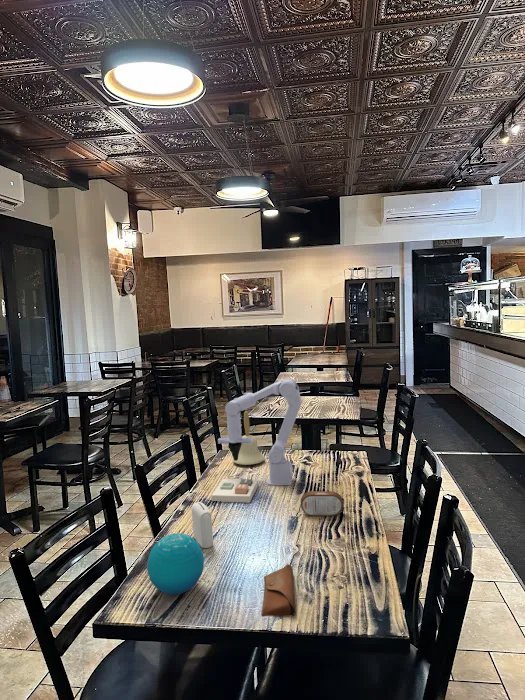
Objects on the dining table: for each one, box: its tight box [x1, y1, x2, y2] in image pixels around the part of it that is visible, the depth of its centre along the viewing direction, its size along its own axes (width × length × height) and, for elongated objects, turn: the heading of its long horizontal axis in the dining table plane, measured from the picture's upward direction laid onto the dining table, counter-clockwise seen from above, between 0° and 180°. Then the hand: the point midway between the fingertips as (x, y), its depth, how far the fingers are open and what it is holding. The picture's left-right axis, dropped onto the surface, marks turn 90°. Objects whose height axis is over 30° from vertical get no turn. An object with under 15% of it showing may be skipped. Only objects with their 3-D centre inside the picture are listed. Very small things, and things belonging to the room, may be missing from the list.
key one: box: [240, 478, 253, 486], centre depth 195 cm, size 4×4×3 cm
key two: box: [235, 484, 249, 494], centre depth 187 cm, size 4×4×3 cm
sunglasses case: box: [261, 563, 296, 617], centre depth 124 cm, size 18×7×7 cm
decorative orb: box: [146, 532, 205, 595], centre depth 127 cm, size 15×15×15 cm
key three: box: [220, 483, 234, 490], centre depth 192 cm, size 4×4×3 cm
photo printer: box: [191, 501, 214, 549], centre depth 153 cm, size 10×4×12 cm, turn 26°
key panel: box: [211, 478, 259, 503], centre depth 192 cm, size 15×17×2 cm
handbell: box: [232, 410, 265, 466], centre depth 227 cm, size 15×15×25 cm
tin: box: [300, 490, 344, 517], centre depth 168 cm, size 15×3×8 cm, turn 84°
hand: (236, 459), depth 204 cm, fingers closed
